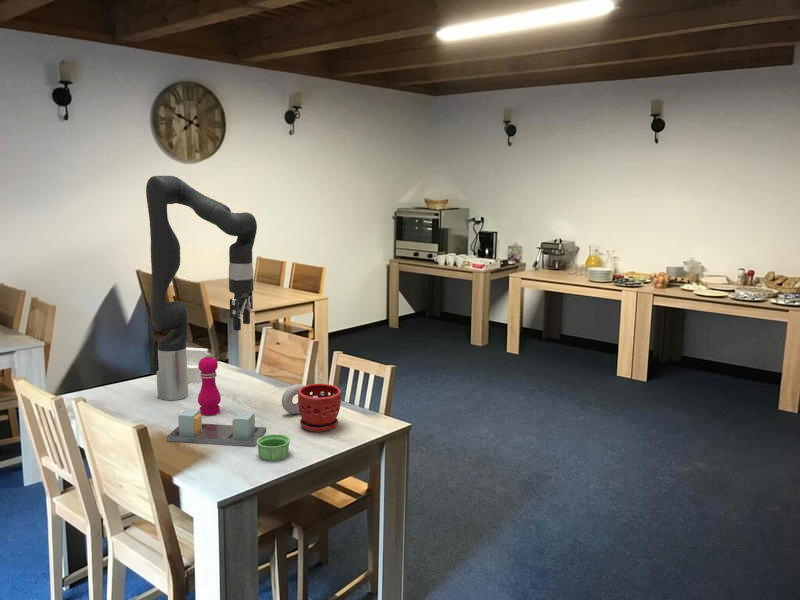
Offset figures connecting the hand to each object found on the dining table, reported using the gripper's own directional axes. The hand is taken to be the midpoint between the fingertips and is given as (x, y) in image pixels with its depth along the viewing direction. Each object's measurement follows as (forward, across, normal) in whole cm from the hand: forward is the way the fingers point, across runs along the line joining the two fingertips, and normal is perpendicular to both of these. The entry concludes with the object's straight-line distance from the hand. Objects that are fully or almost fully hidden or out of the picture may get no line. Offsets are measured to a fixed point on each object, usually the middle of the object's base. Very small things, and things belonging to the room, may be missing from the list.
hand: (241, 327), depth 208 cm
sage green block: (+28, +22, -8) cm, 36 cm away
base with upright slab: (+30, -29, -29) cm, 50 cm away
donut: (+28, -1, +18) cm, 33 cm away
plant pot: (+28, +9, +28) cm, 41 cm away
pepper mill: (+29, +3, -10) cm, 31 cm away
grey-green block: (+28, +21, +8) cm, 36 cm away
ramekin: (+28, +31, +20) cm, 46 cm away
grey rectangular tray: (+28, +22, 0) cm, 35 cm away
